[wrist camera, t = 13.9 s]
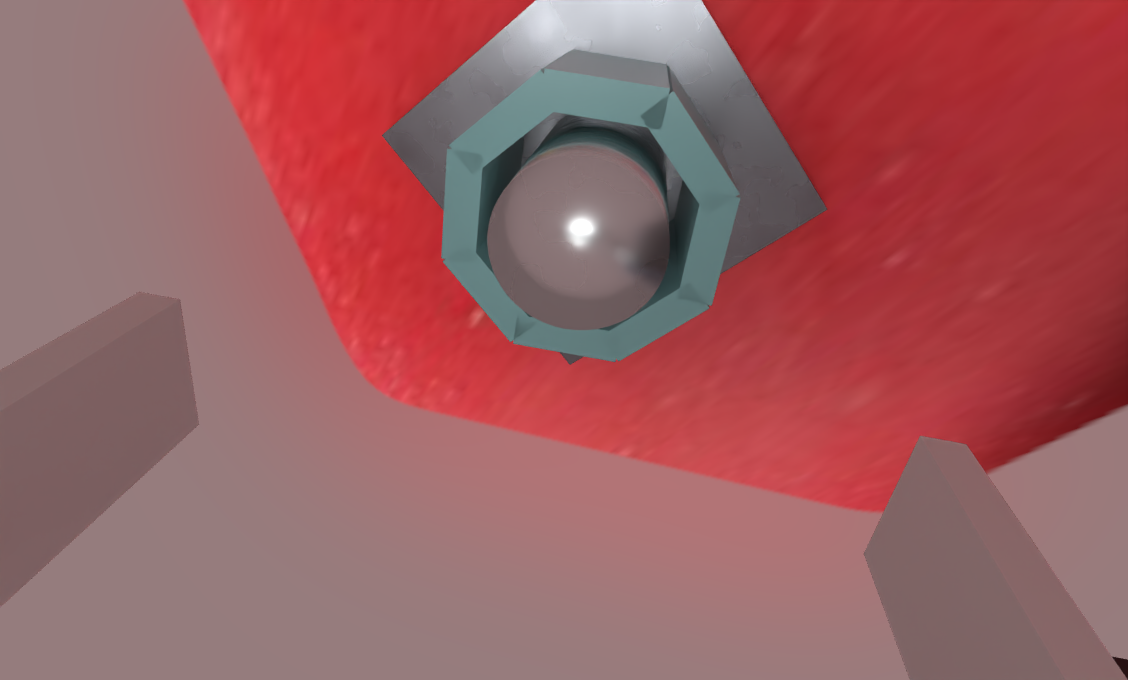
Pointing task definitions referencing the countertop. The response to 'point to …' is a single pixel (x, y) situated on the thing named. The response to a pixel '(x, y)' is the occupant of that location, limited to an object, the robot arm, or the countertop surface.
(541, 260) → the domed lamp fixture
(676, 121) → the collar
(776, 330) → the countertop surface
